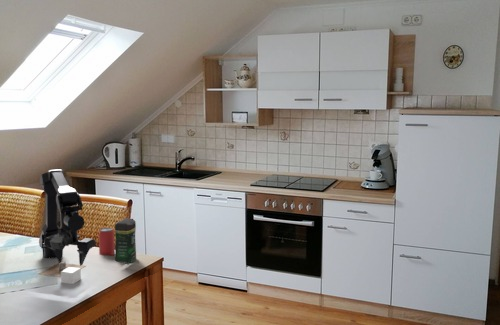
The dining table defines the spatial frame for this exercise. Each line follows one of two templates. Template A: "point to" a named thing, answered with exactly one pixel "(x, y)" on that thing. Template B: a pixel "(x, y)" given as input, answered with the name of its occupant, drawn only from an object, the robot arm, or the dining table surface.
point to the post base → (56, 271)
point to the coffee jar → (125, 241)
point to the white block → (70, 275)
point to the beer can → (106, 242)
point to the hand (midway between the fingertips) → (70, 263)
